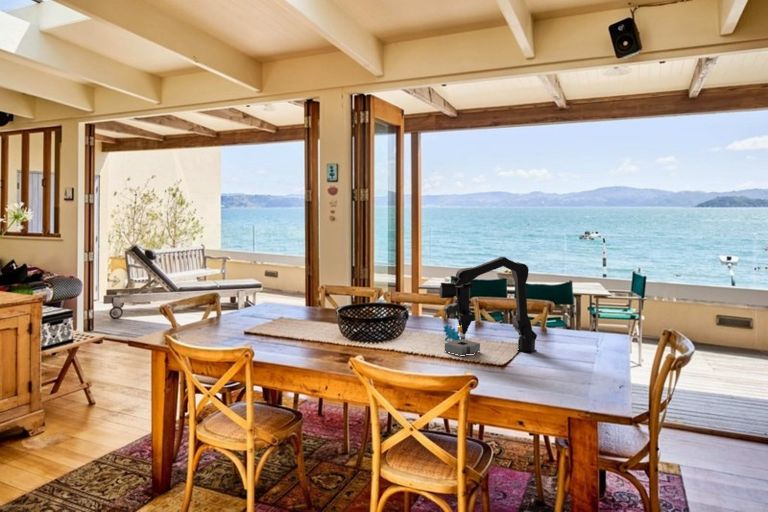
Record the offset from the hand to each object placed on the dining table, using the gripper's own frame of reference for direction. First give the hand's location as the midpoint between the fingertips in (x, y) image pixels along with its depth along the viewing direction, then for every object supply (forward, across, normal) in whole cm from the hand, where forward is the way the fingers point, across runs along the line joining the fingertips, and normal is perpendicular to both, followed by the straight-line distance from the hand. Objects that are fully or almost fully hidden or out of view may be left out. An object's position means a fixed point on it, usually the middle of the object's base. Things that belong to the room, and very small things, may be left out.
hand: (462, 332), depth 217 cm
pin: (+3, 0, 0) cm, 3 cm away
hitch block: (+9, 0, 0) cm, 9 cm away
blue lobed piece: (+9, -19, -1) cm, 21 cm away
